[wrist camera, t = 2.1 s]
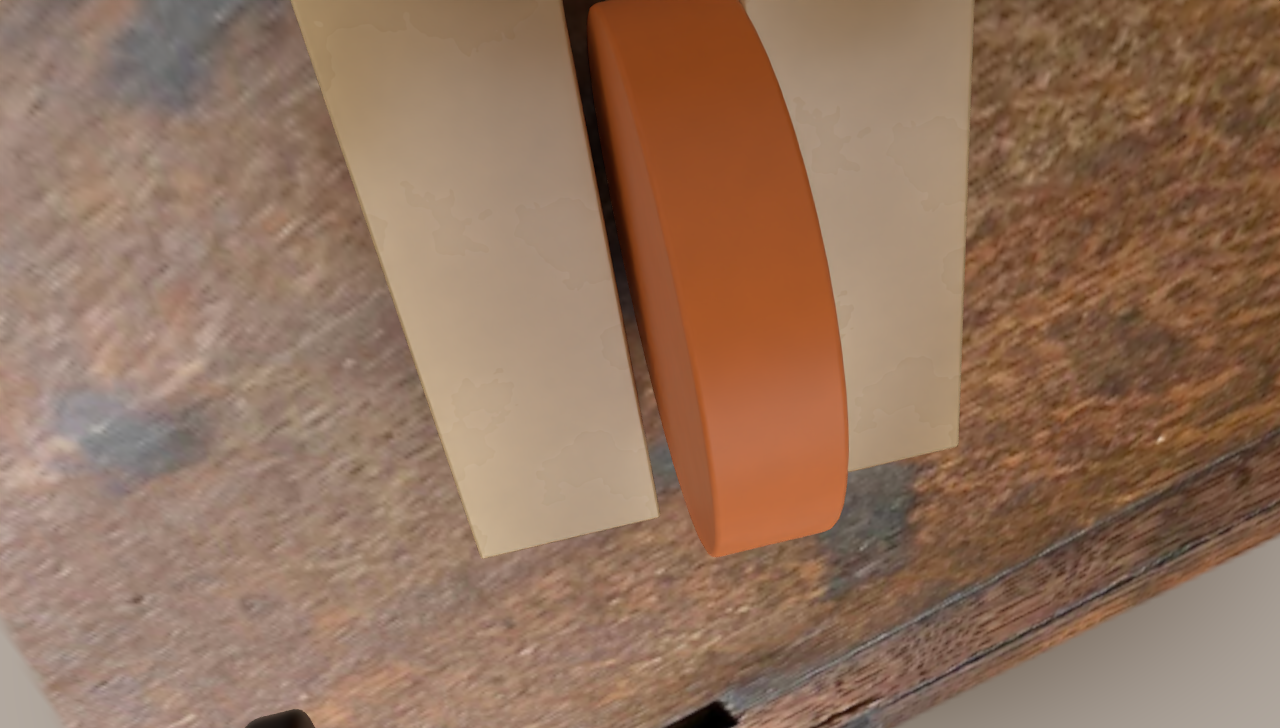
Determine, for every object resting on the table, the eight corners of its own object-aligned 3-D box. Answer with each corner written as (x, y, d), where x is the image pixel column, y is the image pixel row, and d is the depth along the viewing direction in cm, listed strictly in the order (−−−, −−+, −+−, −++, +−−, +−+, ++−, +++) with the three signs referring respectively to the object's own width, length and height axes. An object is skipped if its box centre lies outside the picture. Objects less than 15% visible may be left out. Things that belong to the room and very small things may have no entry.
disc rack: (474, 463, 19) (481, 561, 17) (283, -132, 13) (257, -95, 11) (902, 364, 19) (960, 448, 17) (900, -253, 13) (986, -238, 11)
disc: (638, 354, 18) (739, 678, 13) (562, -59, 14) (660, 144, 8) (721, 336, 18) (858, 648, 13) (670, -81, 14) (839, 105, 8)
